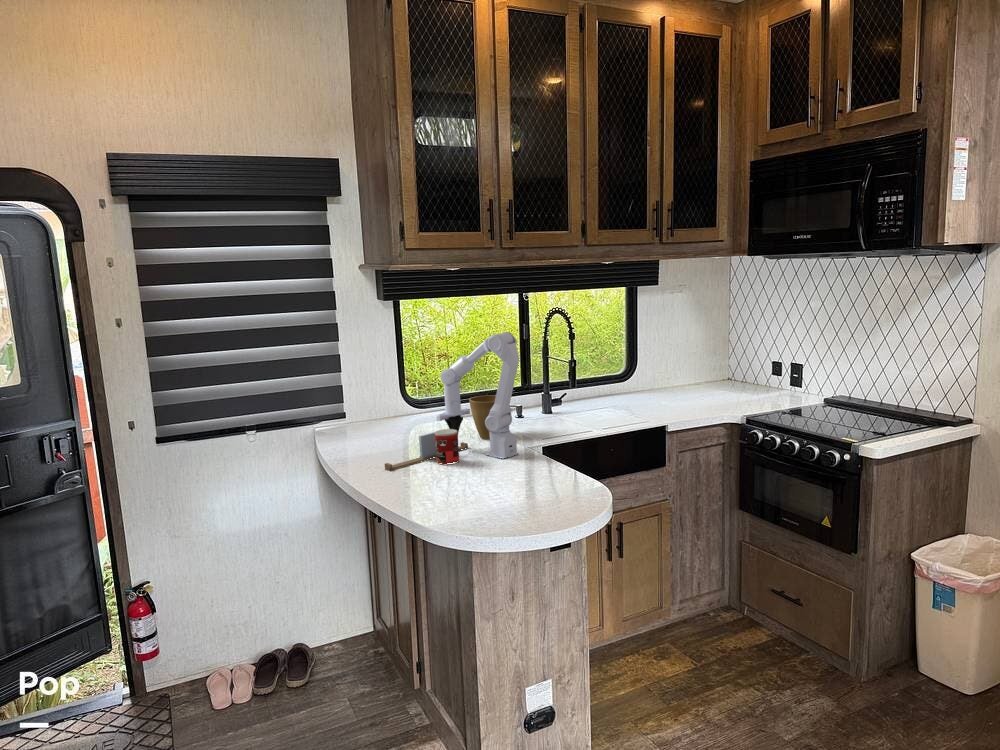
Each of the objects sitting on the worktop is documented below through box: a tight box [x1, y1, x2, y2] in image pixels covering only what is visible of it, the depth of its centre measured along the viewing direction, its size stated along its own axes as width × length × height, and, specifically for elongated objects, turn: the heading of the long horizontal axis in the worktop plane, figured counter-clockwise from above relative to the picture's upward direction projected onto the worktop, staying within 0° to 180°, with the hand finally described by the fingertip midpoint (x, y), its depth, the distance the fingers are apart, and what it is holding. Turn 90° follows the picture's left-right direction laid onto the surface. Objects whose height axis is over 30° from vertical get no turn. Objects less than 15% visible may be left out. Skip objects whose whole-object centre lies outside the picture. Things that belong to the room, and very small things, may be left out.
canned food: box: [434, 428, 460, 464], centre depth 243 cm, size 8×8×11 cm
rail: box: [384, 442, 469, 472], centre depth 249 cm, size 3×35×2 cm, turn 133°
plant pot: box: [468, 394, 496, 440], centre depth 274 cm, size 15×15×16 cm
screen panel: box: [418, 431, 436, 458], centre depth 250 cm, size 2×10×8 cm, turn 133°
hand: (454, 436), depth 257 cm, fingers closed
